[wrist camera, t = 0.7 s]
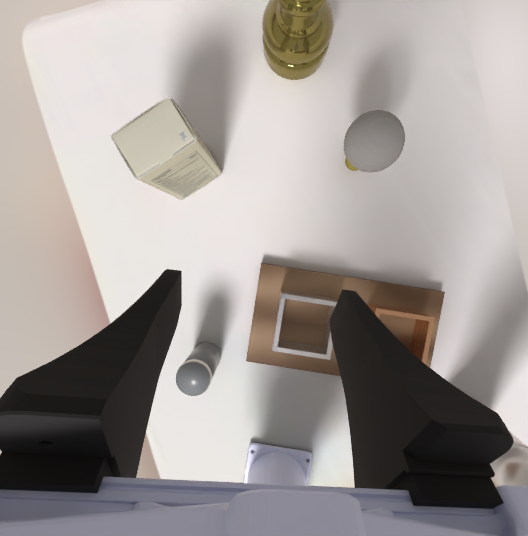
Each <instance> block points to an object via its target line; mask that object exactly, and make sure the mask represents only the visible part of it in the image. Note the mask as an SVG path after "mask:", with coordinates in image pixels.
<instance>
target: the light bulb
mask: <svg viewBox="0 0 528 536" xmlns="http://www.w3.org/2000/svg"><path fill="white" fill-rule="evenodd" d="M404 142H405V133H404V129H403V126H402V124H401V122H400V120H399V119H398V118H397V117H396V116H395V115H393V114H391V113H389V112H386V111H381V110H375V111H370V112H367V113H365V114H363V115H361V116H359V117H358V118H357V119H356V120H355V121H354V122H353V123H352V125H351V126H350V127H349V129H348V131H347V133H346V136H345V140H344V151H345V155H346V160H345V163H346V166H347V167H348V168H349V169H351V170H360V171H364V172H377V171H381V170H383V169H385V168H387V167H388V166H390V165H391V164H392V163H393V162H395V161H396V160H397V158H398V157H399V155H400V154H401V152H402V149H403V146H404Z"/></svg>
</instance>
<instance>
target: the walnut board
mask: <svg viewBox="0 0 528 536" xmlns="http://www.w3.org/2000/svg"><path fill="white" fill-rule="evenodd" d="M342 289H343V290H351V291H356V292H357V293H358V294H359V296H360V297H361V298H362V299H363V300H364V302H365V303H366V304H367V303H368V304H374V305H380V306H387V307H393V308H400V309H406V310H412V311H419V312H423V313H425V314H428V315H430V316H433V317H435V320H434V325H433V330H432V335H431V341H430V346H429V351H428V356H427V362H426V365H427V366H428V367H429V368H430V365H431V360H432V355H433V350H434V345H435V339H436V334H437V329H438V324H439V319H440V313H441V308H442V303H443V298H444V293H445V292H442V291H436V290H430V289H423V288H417V287H411V286H404V285H398V284H391V283H385V282H378V281H372V280H366V279H359V278H353V277H346V276H340V275H333V274H327V273H321V272H314V271H308V270H301V269H295V268H288V267H282V266H276V265H269V264H263V263H261V269H260V275H259V282H258V288H257V295H256V301H255V308H254V314H253V320H252V327H251V333H250V340H249V346H248V353H247V359H246V361H249V362H255V363H261V364H268V365H274V366H280V367H287V368H293V369H299V370H305V371H312V372H318V373H324V374H331V375H337V376H341V375H340V371H339V367H338V364H337V360H336V356H335V352H334V348H333V346H332V352H331V358H330V360H327V359H321V358H315V357H308V356H302V355H296V354H289V353H283V352H277V351H272V340H273V334H274V327H275V321H276V315H277V309H278V302H279V296H280V290H284V291H291V292H297V293H303V294H310V295H316V296H323V297H329V298H335V299H336V300H337V301H338V299H339V296H340V294H341V292H342ZM328 307H329V305H323V304H316V303H310V302H304V301H297V300H291V299H285V303H284V309H283V316H282V322H281V328H280V334H279V340H284V341H291V342H297V343H303V344H310V345H316V346H322V343H323V337H324V331H325V325H326V319H327V313H328ZM379 319H380V320H381V322H382V323H383V324H384V325H385V326H386V327H387V328H388V329H389V330H390V331H391V333H392V334H393V335H394V336H395V337H396V338H397V339H398V340H399V341H400V342H401V343H402V344H403V345H404V346H405V347H406V348H407V349H409V350H410V348H411V342H412V337H413V332H414V326H415V321H416V319H412V318H406V317H399V316H393V315H387V314H380V315H379Z"/></svg>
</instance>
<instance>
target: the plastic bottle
mask: <svg viewBox="0 0 528 536" xmlns="http://www.w3.org/2000/svg"><path fill="white" fill-rule="evenodd" d="M509 432H510V431H509ZM510 434H511V435H512V437H513V440H514V443H513V445H512V447H511V449H510V450H509V451H507V452H506V453H505V454H504V455H502V456H501V457H499V458H498V459H496V460H495V461H493V462H492V463H490V465H491V467H492V469H493V471H494V473H495V476H494V477H491V479H492V481H493V483H494V485H495V487H498V486H502V485H514V486H528V447H527V446H526V445H524V444H523V443H522V442H521V441H520V440H519V439H518V438H517V437H515V436H514V435H513V434H512V433H511V432H510Z"/></svg>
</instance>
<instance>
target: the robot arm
mask: <svg viewBox="0 0 528 536" xmlns="http://www.w3.org/2000/svg"><path fill="white" fill-rule="evenodd" d="M181 305H182V304H181V271H178V270H169V269H167V270H165V271H164V272H163V273H162V275H161V276H160V277H159V278H158V279H157V280H156V281H155V283H154V284H153V285H152V286H151V287H150V288H149V289H148V290H147V291H146V292H145V293H144V294H143V295H142V296H141V297H140V298H139V299H138V300H137V301H136V302H135V303H134V304H133V305H132V306H131V307H130V308H129V309H127V310H126V311H125V312H124V313H123V314H122V315H121V316H119V317H118V318H117V319H116V320H115V321H113V322H112V323H111V324H109V325H108V326H107V327H106V328H104V329H103V330H101V331H100V332H99V333H97V334H96V335H94V336H93V337H91V338H90V339H88V340H87V341H85V342H84V343H82V344H81V345H79V346H77V347H76V348H74V349H73V350H71V351H69V352H67V353H65V354H64V355H62V356H60V357H58V358H57V359H55V360H53V361H51V362H49V363H47V364H45V365H43V366H41V367H39V368H37V369H35V370H33V371H30V372H29V373H26V374H24V375H22V376H20V377H18V378H16V380H15V381H14V382H13V383H12V385H10V387H9V388H8V389H7V390H6V391H5V393H4V394H3V395H2V397H1V398H0V450H1V451H2V453H1V455H0V536H528V486H514V485H502V486H498V487H495V485H494V483H493V481H492V479H491V477H494V476H495V473H494V471H493V469H492V467H491V465H490V463H492V462H493V461H495V460H496V459H498V458H499V457H501V456H502V455H504V454H505V453H506V452H507V451H509V450H510V449H511V447H512V445H513V443H514V440H513V437H512V435H511V434H510V432H509V430H508V429H507V427H506V426H505V424H504V422H503V421H502V419H501V418H500V416H499V415H498V413H496V412H494V411H493V410H491V409H489V408H488V407H486V406H484V405H483V404H481V403H479V402H478V401H476V400H474V399H473V398H471V397H470V396H468V395H467V394H465V393H464V392H462V391H461V390H459V389H458V388H456V387H455V386H453V385H452V384H450V383H449V382H448V381H446V380H445V379H444V378H442V377H441V376H440V375H438V374H437V373H436V372H434V371H433V370H432V369H431V368H429V367H428V366H427V365H426V364H424V363H423V362H422V361H421V360H420V359H419V358H417V357H416V356H415V355H414V354H413V353H412V352H411V351H410V350H409V349H407V348H406V347H405V346H404V345H403V344H402V343H401V342H400V341H399V340H398V339H397V338H396V337H395V336H394V335H393V334H392V333H391V331H390V330H389V329H388V328H387V327H386V326H385V325H384V324H383V323H382V322H381V320H380V319H379V318H378V317H377V316H376V315H375V313H374V312H373V311H372V310H371V309H370V308H369V306H368V305H367V304H366V303H365V302H364V300H363V299H362V298H361V297H360V296H359V294H358V293H357V292H356V291H351V290H343V289H342V292H341V294H340V296H339V299H338V301H337V304H336V306H335V309H334V311H333V313H332V316H331V318H330V330H331V338H332V344H333V348H334V352H335V356H336V360H337V364H338V367H339V371H340V375H341V379H342V383H343V387H344V392H345V398H346V404H347V411H348V419H349V427H350V435H351V445H352V455H353V467H354V482H355V488H345V487H322V486H308V480H309V474H310V468H311V463H312V453H311V452H309V451H302V450H296V449H290V448H284V447H278V446H271V445H265V444H259V443H251V444H250V445H249V451H248V457H247V464H246V470H245V476H244V483H233V482H211V481H189V480H167V479H143V478H136V475H137V470H138V465H139V461H140V456H141V451H142V446H143V442H144V438H145V433H146V429H147V424H148V420H149V416H150V411H151V407H152V403H153V399H154V395H155V391H156V387H157V383H158V379H159V376H160V372H161V369H162V366H163V364H164V361H165V358H166V355H167V352H168V350H169V347H170V344H171V341H172V338H173V336H174V333H175V330H176V327H177V323H178V319H179V314H180V310H181ZM251 450H254V452H251ZM306 459H309V460H308V461H306Z"/></svg>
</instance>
